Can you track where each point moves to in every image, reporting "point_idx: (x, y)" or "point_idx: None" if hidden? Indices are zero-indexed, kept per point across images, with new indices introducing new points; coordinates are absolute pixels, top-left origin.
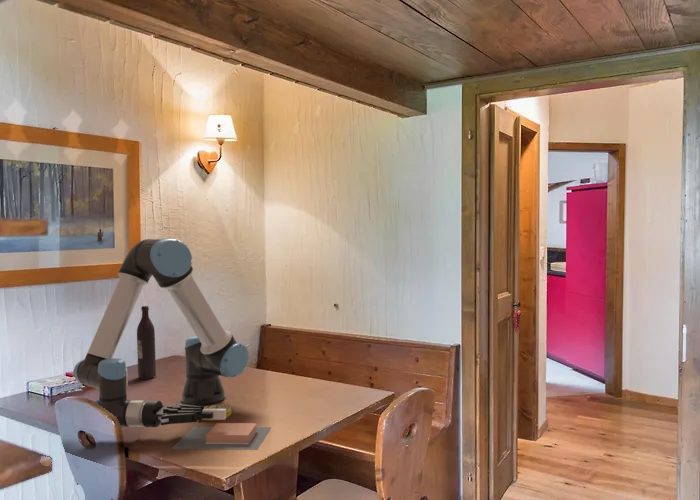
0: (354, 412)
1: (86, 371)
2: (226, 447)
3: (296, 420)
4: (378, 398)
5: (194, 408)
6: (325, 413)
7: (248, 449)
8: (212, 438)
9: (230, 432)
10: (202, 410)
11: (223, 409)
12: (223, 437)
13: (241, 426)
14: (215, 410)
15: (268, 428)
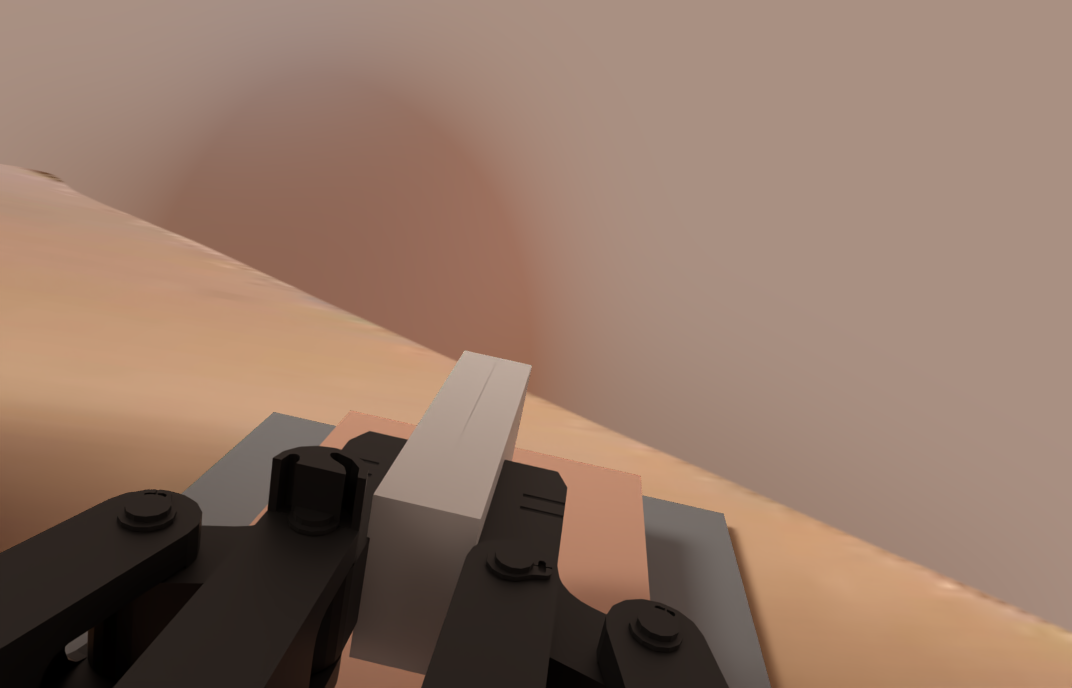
0: (190, 240)
1: None
2: (719, 667)
3: (160, 337)
4: (47, 184)
5: (219, 641)
6: (123, 271)
7: (731, 548)
8: None
9: (571, 554)
10: (480, 521)
11: (492, 364)
12: None
13: None
14: (515, 413)
15: (294, 425)
